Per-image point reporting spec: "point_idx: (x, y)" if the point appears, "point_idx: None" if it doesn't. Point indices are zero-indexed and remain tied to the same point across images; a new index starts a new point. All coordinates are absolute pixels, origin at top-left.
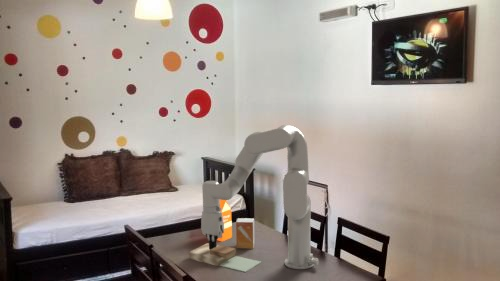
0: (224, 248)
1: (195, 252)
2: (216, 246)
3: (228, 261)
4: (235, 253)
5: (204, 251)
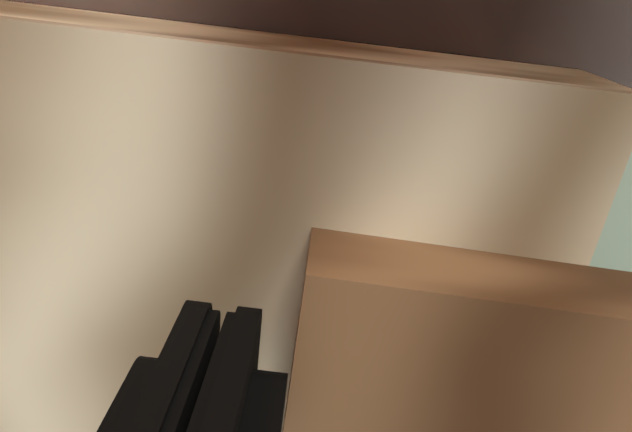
0: (516, 406)
1: None
2: (143, 112)
3: None
4: (604, 80)
5: None
